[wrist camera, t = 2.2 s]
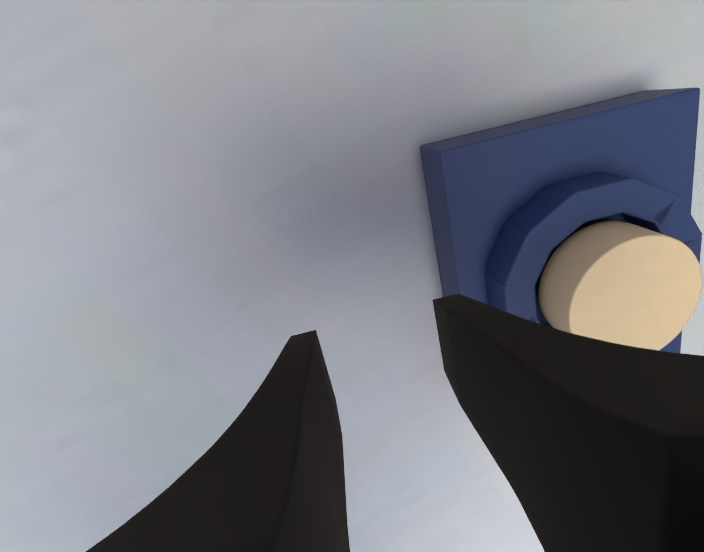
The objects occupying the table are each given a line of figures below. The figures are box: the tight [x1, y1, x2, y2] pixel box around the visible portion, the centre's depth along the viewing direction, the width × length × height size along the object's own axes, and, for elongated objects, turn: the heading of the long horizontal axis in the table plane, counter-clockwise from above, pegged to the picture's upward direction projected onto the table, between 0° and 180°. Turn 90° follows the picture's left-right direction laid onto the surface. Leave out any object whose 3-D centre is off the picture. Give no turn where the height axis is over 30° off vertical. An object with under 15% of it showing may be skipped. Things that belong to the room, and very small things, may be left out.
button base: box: [420, 88, 702, 353], centre depth 18 cm, size 12×10×4 cm
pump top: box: [539, 221, 702, 350], centre depth 16 cm, size 5×5×2 cm
